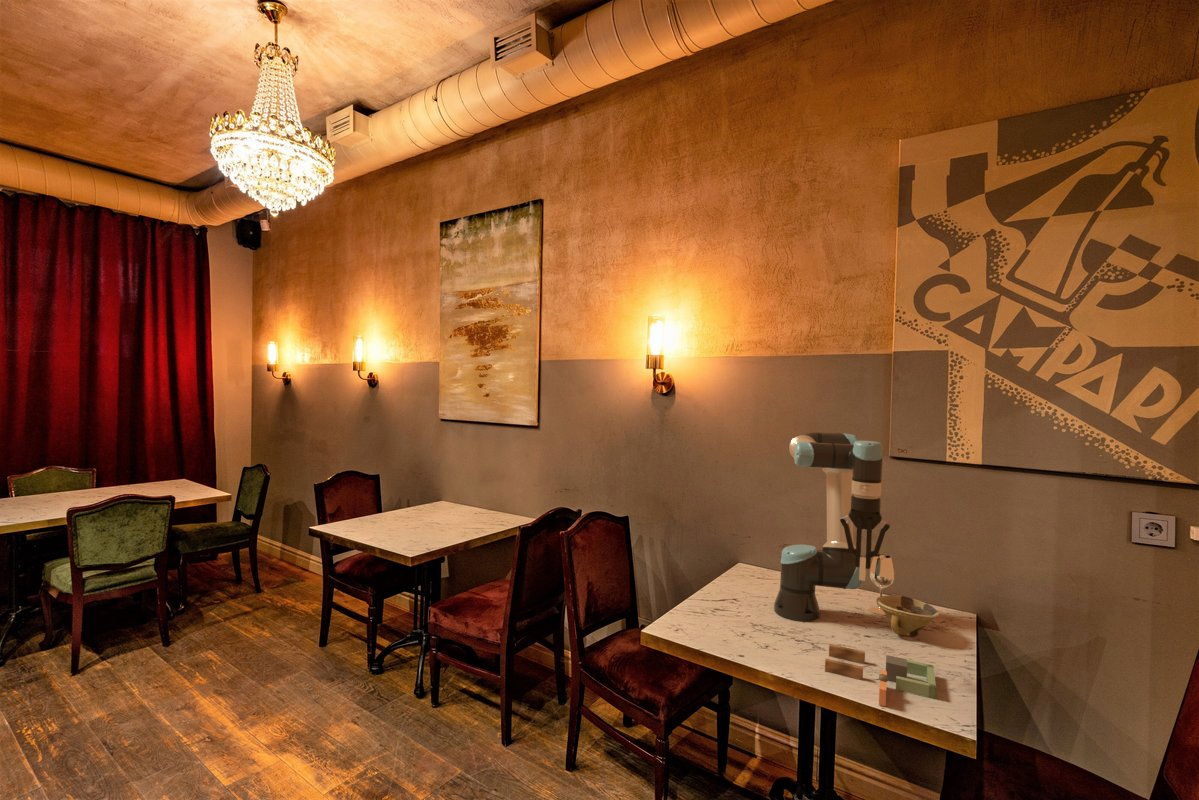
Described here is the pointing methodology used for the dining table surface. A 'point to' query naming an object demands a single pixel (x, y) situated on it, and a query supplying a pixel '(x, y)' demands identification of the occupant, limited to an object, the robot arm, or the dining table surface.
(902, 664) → the block
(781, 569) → the robot arm
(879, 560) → the wineglass
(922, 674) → the bracket
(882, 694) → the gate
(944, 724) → the dining table surface
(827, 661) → the clip rails
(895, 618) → the bowl
